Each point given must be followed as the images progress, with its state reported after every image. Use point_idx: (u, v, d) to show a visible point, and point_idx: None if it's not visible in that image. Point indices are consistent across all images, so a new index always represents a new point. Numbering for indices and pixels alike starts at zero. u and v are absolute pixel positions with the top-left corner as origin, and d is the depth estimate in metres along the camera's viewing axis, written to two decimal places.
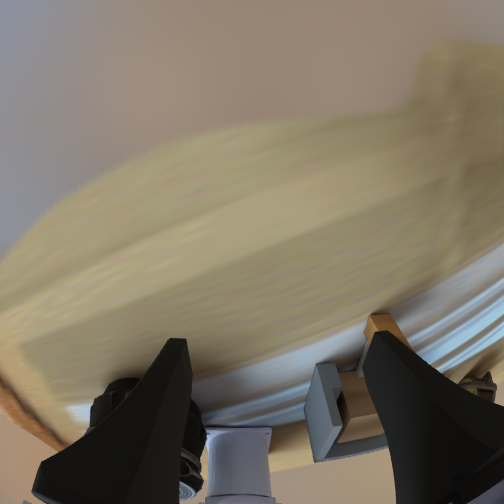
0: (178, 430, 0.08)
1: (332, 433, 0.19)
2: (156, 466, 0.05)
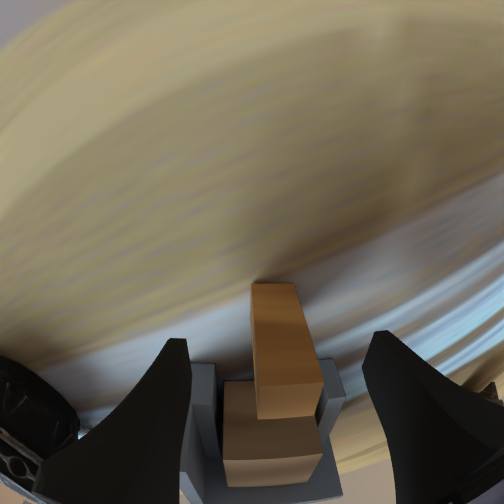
0: (178, 430, 0.08)
1: None
2: (156, 466, 0.05)
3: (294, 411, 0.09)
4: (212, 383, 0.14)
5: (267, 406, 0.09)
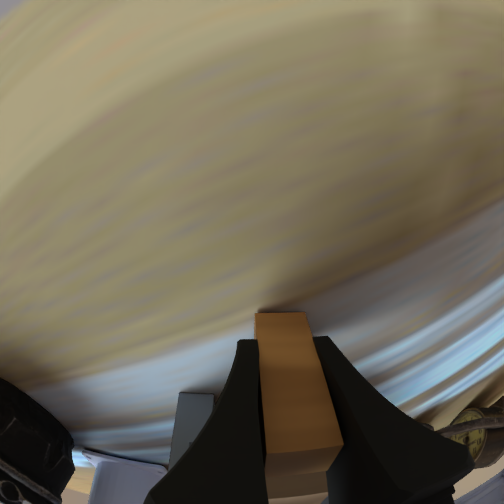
0: None
1: None
2: None
3: (305, 469, 0.07)
4: None
5: (275, 467, 0.06)
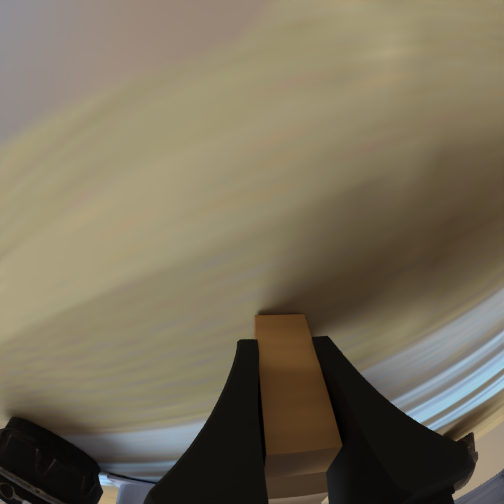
0: None
1: None
2: None
3: (305, 470, 0.07)
4: None
5: (275, 468, 0.06)
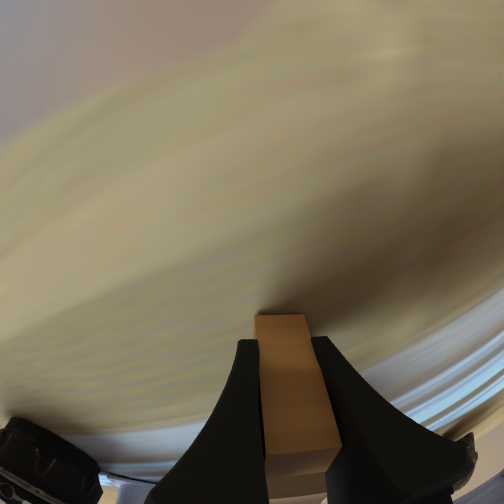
0: None
1: None
2: None
3: (304, 470, 0.07)
4: None
5: (274, 468, 0.06)
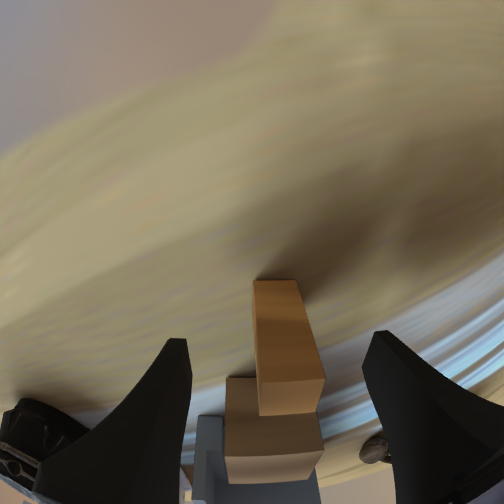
0: (178, 430, 0.08)
1: (198, 503, 0.13)
2: (156, 466, 0.05)
3: (296, 408, 0.09)
4: (221, 433, 0.17)
5: (269, 402, 0.09)
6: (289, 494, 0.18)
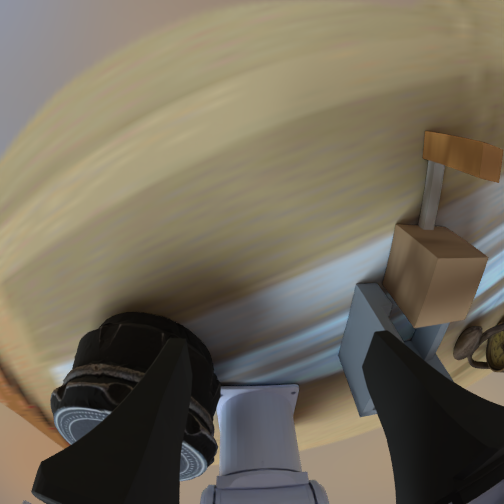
0: (178, 430, 0.08)
1: None
2: (156, 466, 0.05)
3: (493, 174, 0.11)
4: (383, 293, 0.20)
5: (484, 163, 0.11)
6: None
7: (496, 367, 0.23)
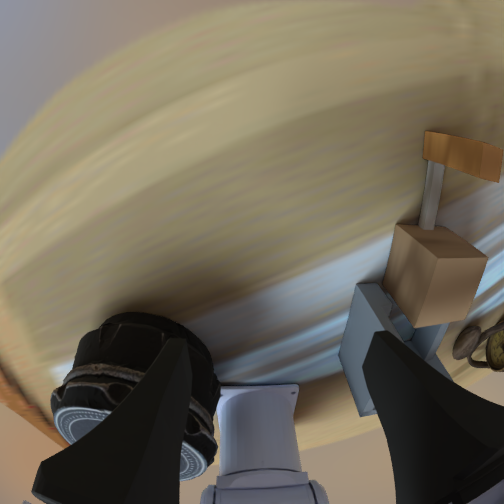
0: (178, 430, 0.08)
1: None
2: (156, 466, 0.05)
3: (493, 174, 0.11)
4: (383, 293, 0.20)
5: (484, 163, 0.11)
6: None
7: (496, 366, 0.23)
